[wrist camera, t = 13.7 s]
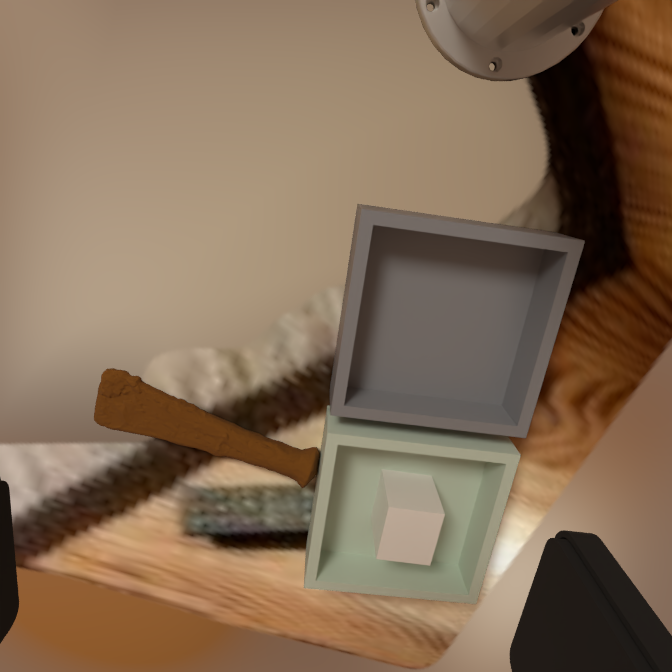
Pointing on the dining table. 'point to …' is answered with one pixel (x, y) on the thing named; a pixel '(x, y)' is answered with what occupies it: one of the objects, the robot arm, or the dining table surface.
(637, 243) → the dining table surface
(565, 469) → the dining table surface
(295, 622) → the dining table surface
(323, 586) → the sage crate
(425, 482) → the beige block
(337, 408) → the charcoal bin
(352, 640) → the dining table surface
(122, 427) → the primitive tool
